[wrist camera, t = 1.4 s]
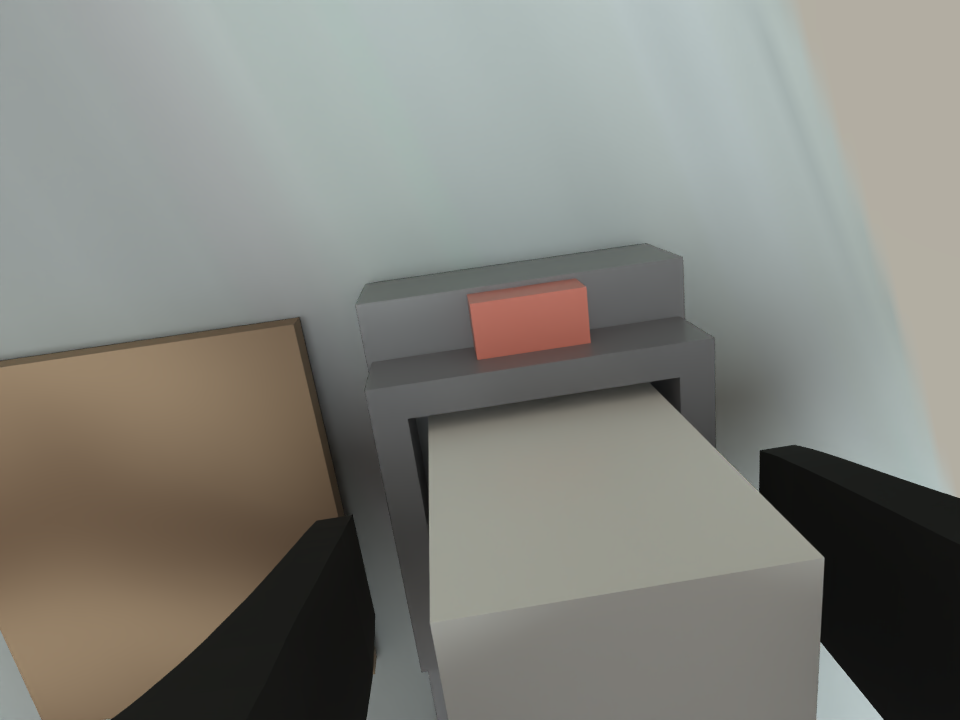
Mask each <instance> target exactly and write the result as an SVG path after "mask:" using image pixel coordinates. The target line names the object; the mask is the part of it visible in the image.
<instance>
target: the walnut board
mask: <svg viewBox="0 0 960 720" xmlns="http://www.w3.org/2000/svg"><path fill="white" fill-rule="evenodd" d="M342 516H345V515H344V511H343V506H342V502H341V498H340V493H339V489H338V485H337V480H336V476H335V471H334V467H333V463H332V458H331V454H330V450H329V445H328V441H327V436H326V432H325V428H324V423H323V419H322V415H321V410H320V406H319V402H318V397H317V393H316V388H315V384H314V380H313V375H312V371H311V367H310V362H309V358H308V353H307V349H306V345H305V340H304V336H303V332H302V327H301V323H300V319H299V318H292V319H285V320H278V321H271V322H264V323H258V324H251V325H244V326H237V327H230V328H223V329H216V330H210V331H203V332H196V333H189V334H182V335H175V336H169V337H162V338H155V339H148V340H141V341H134V342H128V343H121V344H114V345H107V346H100V347H93V348H86V349H80V350H73V351H66V352H59V353H52V354H45V355H39V356H32V357H25V358H18V359H11V360H4V361H0V630H1V632H2V635H3V637H4V639H5V641H6V643H7V645H8V648H9V650H10V652H11V654H12V656H13V658H14V661H15V663H16V665H17V667H18V669H19V671H20V674H21V676H22V678H23V680H24V682H25V685H26V687H27V689H28V691H29V693H30V695H31V698H32V700H33V702H34V704H35V706H36V708H37V711H38V713H39V715H40V717H41V719H42V720H105V719H111V718H113V717H115V716H116V715H117V714H119V713H120V712H121V711H123V710H124V709H125V708H127V707H128V706H129V705H131V704H132V703H133V702H134V701H136V700H137V699H138V698H139V697H141V696H142V695H143V694H144V693H145V692H147V691H148V690H149V689H150V688H151V687H153V686H154V685H155V684H156V683H157V682H158V681H160V680H161V679H162V678H163V677H164V676H165V675H167V674H168V673H169V672H170V671H171V670H173V669H174V668H175V667H176V666H177V665H178V664H179V663H180V662H182V661H183V660H184V659H185V658H186V657H187V656H188V655H189V654H190V653H192V652H193V651H194V650H195V649H196V648H197V647H198V646H199V645H200V644H201V643H202V642H203V641H204V640H205V639H206V638H207V637H208V636H209V635H210V634H211V633H212V632H213V631H214V630H215V629H216V628H217V627H218V626H219V625H220V624H221V623H222V622H223V621H224V620H225V619H226V618H227V617H228V616H229V615H230V614H231V613H232V612H233V611H234V610H235V609H236V608H237V607H238V606H239V605H240V604H241V603H242V602H243V601H244V600H245V599H246V598H247V597H248V596H249V595H250V594H251V593H252V592H253V591H254V590H255V588H256V587H257V586H258V585H259V584H260V583H261V582H262V581H263V580H264V578H265V577H266V576H267V575H268V574H269V573H270V572H271V571H272V570H273V569H274V567H275V566H276V565H277V564H278V563H279V562H280V561H281V560H282V558H283V557H284V556H285V555H286V554H287V553H288V552H289V550H290V549H291V548H292V547H293V546H294V545H295V544H296V542H297V541H298V540H299V539H300V538H301V537H302V536H303V534H304V533H305V532H306V531H307V530H308V529H309V528H310V527H311V526H312V525H313V524H314V523H315V522H316V521H317V520H323V519H330V518H336V517H342ZM376 658H377V655H376V650H375V646H374V665H373V674H375V668H376Z"/></svg>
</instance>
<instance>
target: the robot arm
mask: <svg viewBox="0 0 960 720" xmlns="http://www.w3.org/2000/svg"><path fill="white" fill-rule="evenodd" d="M759 493H760V494H761V495H762V496H763V497H764V498H765V499H766V500H767V501H768V502H769V503H770V504H771V505H772V506H773V507H774V508H775V509H776V510H777V511H778V512H779V513H780V514H781V515H782V516H783V517H784V518H785V519H786V520H787V521H788V522H789V523H790V524H791V525H792V526H793V527H794V528H795V529H796V530H797V531H798V532H799V533H800V534H801V535H802V536H803V537H804V538H805V539H806V540H807V541H808V542H809V543H810V544H811V545H812V546H813V547H814V548H815V549H816V550H817V551H818V552H819V553H820V554H821V555H822V556H823V557H824V577H823V596H822V616H821V635H820V642H821V643H822V644H823V646H824V647H825V648H826V649H827V650H828V652H829V653H830V654H831V655H832V657H833V658H834V659H835V660H836V661H837V663H838V664H839V665H840V666H841V668H842V669H843V670H844V671H845V672H846V674H847V675H848V676H849V677H850V679H851V680H852V681H853V682H854V684H855V685H856V686H857V687H858V688H859V690H860V691H861V692H862V693H863V695H864V696H865V697H866V698H867V699H868V701H869V702H870V703H871V704H872V706H873V707H874V708H875V709H876V711H877V712H878V713H879V714H880V715H881V717H882V718H883V719H884V720H960V498H957V497H954V496H951V495H948V494H945V493H942V492H939V491H936V490H933V489H930V488H927V487H924V486H921V485H918V484H915V483H912V482H909V481H906V480H903V479H900V478H897V477H894V476H891V475H888V474H886V473H883V472H880V471H877V470H874V469H871V468H868V467H865V466H862V465H859V464H857V463H854V462H851V461H848V460H845V459H842V458H839V457H836V456H833V455H830V454H827V453H823V452H820V451H817V450H813V449H810V448H806V447H801V446H797V445H791V446H785V447H778V448H772V449H766V450H760V476H759ZM374 636H375V613H374V608H373V604H372V599H371V595H370V590H369V586H368V581H367V577H366V572H365V568H364V564H363V559H362V555H361V550H360V546H359V541H358V537H357V532H356V528H355V523H354V519H353V515H349V516H342V517H336V518H330V519H323V520H317V521H316V522H315V523H314V524H313V525H312V526H311V527H310V528H309V529H308V530H307V531H306V532H305V533H304V534H303V536H302V537H301V538H300V539H299V540H298V541H297V542H296V544H295V545H294V546H293V547H292V548H291V549H290V550H289V552H288V553H287V554H286V555H285V556H284V557H283V558H282V560H281V561H280V562H279V563H278V564H277V565H276V566H275V567H274V569H273V570H272V571H271V572H270V573H269V574H268V575H267V576H266V577H265V578H264V580H263V581H262V582H261V583H260V584H259V585H258V586H257V587H256V588H255V590H254V591H253V592H252V593H251V594H250V595H249V596H248V597H247V598H246V599H245V600H244V601H243V602H242V603H241V604H240V605H239V606H238V607H237V608H236V609H235V610H234V611H233V612H232V613H231V614H230V615H229V616H228V617H227V618H226V619H225V620H224V621H223V622H222V623H221V624H220V625H219V626H218V627H217V628H216V629H215V630H214V631H213V632H212V633H211V634H210V635H209V636H208V637H207V638H206V639H205V640H204V641H203V642H202V643H201V644H200V645H199V646H198V647H197V648H196V649H195V650H194V651H193V652H192V653H190V654H189V655H188V656H187V657H186V658H185V659H184V660H183V661H182V662H180V663H179V664H178V665H177V666H176V667H175V668H174V669H173V670H171V671H170V672H169V673H168V674H167V675H165V676H164V677H163V678H162V679H161V680H160V681H158V682H157V683H156V684H155V685H154V686H153V687H151V688H150V689H149V690H148V691H147V692H145V693H144V694H143V695H142V696H141V697H139V698H138V699H137V700H136V701H134V702H133V703H132V704H131V705H129V706H128V707H127V708H125V709H124V710H123V711H121V712H120V713H119V714H117V715H116V716H115V717H113V718H112V719H111V720H366V717H367V711H368V704H369V698H370V691H371V684H372V677H373V665H374Z"/></svg>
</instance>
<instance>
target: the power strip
mask: <svg viewBox="0 0 960 720" xmlns="http://www.w3.org/2000/svg"><path fill="white" fill-rule="evenodd" d="M355 306H356V311H357V316H358V321H359V326H360V331H361V336H362V341H363V346H364V351H365V357H366V362H367V367H368V372H369V376H368V380H367V383H366V387H365V396H366V401H367V405H368V410H369V415H370V420H371V425H372V430H373V435H374V440H375V445H376V450H377V455H378V460H379V465H380V470H381V475H382V479H383V484H384V489H385V494H386V499H387V504H388V509H389V514H390V519H391V524H392V529H393V534H394V539H395V544H396V549H397V553H398V558H399V563H400V568H401V573H402V578H403V583H404V588H405V593H406V598H407V603H408V608H409V613H410V618H411V623H412V627H413V632H414V637H415V642H416V647H417V652H418V657H419V662H420V667H421V672H427V671H428V674H429V679H430V684H431V689H432V694H433V699H434V704H435V709H436V714H437V719H438V720H448V715H447V710H446V705H445V700H444V694H443V689H442V684H441V679H440V673H439V668H438V663H437V658H436V652H435V647H434V642H433V637H432V632H431V626H430V573H429V441H428V416H430V415H437V414H443V413H450V412H456V411H463V410H469V409H476V408H482V407H489V406H495V405H502V404H508V403H515V402H521V401H528V400H534V399H541V398H548V397H554V396H561V395H567V394H574V393H580V392H587V391H593V390H600V389H606V388H613V387H619V386H626V385H632V384H639V383H645V382H649V383H650V384H651V385H652V386H653V387H654V388H655V389H656V390H657V391H658V392H659V393H660V394H661V395H662V396H663V397H664V398H665V399H666V400H667V401H668V402H669V403H670V404H671V405H672V406H673V407H674V408H675V409H676V410H677V411H678V412H679V413H680V414H681V415H682V416H683V417H684V418H685V419H686V420H687V421H688V422H689V423H690V424H691V425H692V426H693V427H694V428H695V429H696V430H697V431H698V432H699V433H700V434H701V435H702V436H703V437H704V438H705V439H706V440H707V441H708V442H709V443H710V444H711V445H712V446H713V447H714V448H715V449H716V421H715V340H714V337H712V336H711V335H709V334H707V333H706V332H704V331H703V330H701V329H699V328H698V327H696V326H694V325H693V324H691V323H690V322H688V321H686V320H685V310H684V274H683V257H681V256H678V255H676V254H673V253H670V252H668V251H665V250H663V249H660V248H657V247H655V246H652V245H649V244H647V243H645V244H638V245H631V246H624V247H617V248H611V249H604V250H597V251H590V252H583V253H576V254H569V255H562V256H555V257H548V258H541V259H535V260H528V261H521V262H514V263H507V264H500V265H493V266H486V267H479V268H472V269H465V270H458V271H452V272H445V273H438V274H431V275H424V276H417V277H410V278H403V279H396V280H389V281H382V282H376V283H369V284H365V286H364V288H363V290H362V292H361V294H360V296H359V299H358V301H357V303H356V305H355Z"/></svg>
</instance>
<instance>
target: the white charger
mask: <svg viewBox="0 0 960 720" xmlns="http://www.w3.org/2000/svg"><path fill="white" fill-rule="evenodd" d="M428 441H429V573H430V626H431V632H432V637H433V642H434V647H435V652H436V658H437V663H438V668H439V673H440V679H441V684H442V689H443V694H444V700H445V705H446V710H447V715H448V720H816V713H817V693H818V674H819V655H820V635H821V616H822V596H823V577H824V557H823V556H822V555H821V554H820V553H819V552H818V551H817V550H816V549H815V548H814V547H813V546H812V545H811V544H810V543H809V542H808V541H807V540H806V539H805V538H804V537H803V536H802V535H801V534H800V533H799V532H798V531H797V530H796V529H795V528H794V527H793V526H792V525H791V524H790V523H789V522H788V521H787V520H786V519H785V518H784V517H783V516H782V515H781V514H780V513H779V512H778V511H777V510H776V509H775V508H774V507H773V506H772V505H771V504H770V503H769V502H768V501H767V500H766V499H765V498H764V497H763V496H762V495H761V494H760V493H759V492H758V491H757V490H756V489H755V488H754V487H753V486H752V485H751V484H750V483H749V482H748V481H747V480H746V479H745V478H744V477H743V476H742V475H741V474H740V473H739V472H738V471H737V470H736V469H735V468H734V467H733V466H732V465H731V464H730V463H729V462H728V461H727V460H726V459H725V458H724V457H723V456H722V455H721V454H720V453H719V452H718V451H717V450H716V449H715V448H714V447H713V446H712V445H711V444H710V443H709V442H708V441H707V440H706V439H705V438H704V437H703V436H702V435H701V434H700V433H699V432H698V431H697V430H696V429H695V428H694V427H693V426H692V425H691V424H690V423H689V422H688V421H687V420H686V419H685V418H684V417H683V416H682V415H681V414H680V413H679V412H678V411H677V410H676V409H675V408H674V407H673V406H672V405H671V404H670V403H669V402H668V401H667V400H666V399H665V398H664V397H663V396H662V395H661V394H660V393H659V392H658V391H657V390H656V389H655V388H654V387H653V386H652V385H651V384H650V383H649V382H645V383H639V384H632V385H626V386H619V387H613V388H606V389H600V390H593V391H587V392H580V393H574V394H567V395H561V396H554V397H548V398H541V399H534V400H528V401H521V402H515V403H508V404H502V405H495V406H489V407H482V408H476V409H469V410H463V411H456V412H450V413H443V414H437V415H430V416H428Z"/></svg>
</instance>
